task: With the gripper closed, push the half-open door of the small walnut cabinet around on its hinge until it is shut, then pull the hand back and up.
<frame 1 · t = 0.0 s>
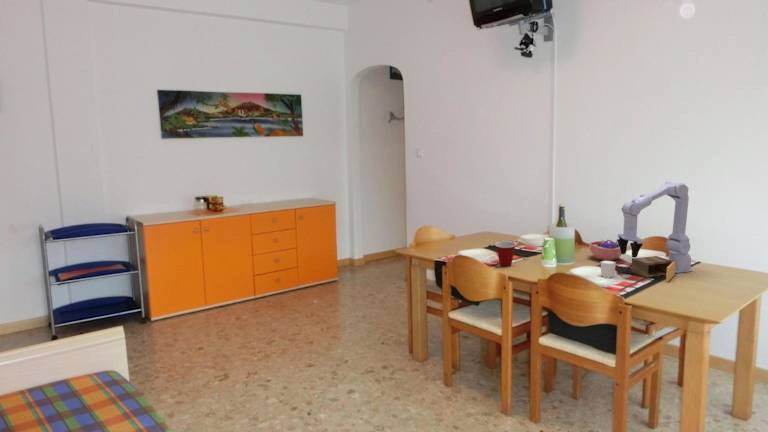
hand: (628, 255, 257), 10 cm above the table, tool pointing down, fingers open, 7 cm apart
cell model: (605, 259, 291), on the table
cabinet: (650, 273, 261), on the table
white short cylinder: (607, 276, 259), on the table
cabinet door: (670, 271, 251), point 4 cm above the table, hinge at 36.0°
plastic cup: (505, 266, 284), on the table
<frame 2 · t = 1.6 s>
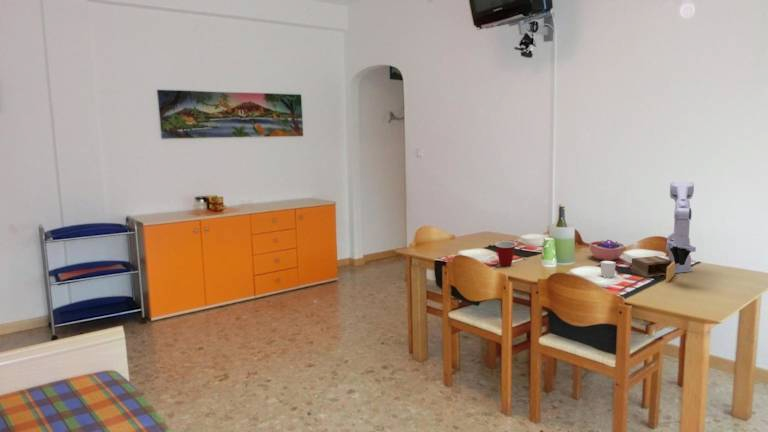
hand: (679, 264, 241), 9 cm above the table, tool pointing down, fingers closed
nothing on the table moved.
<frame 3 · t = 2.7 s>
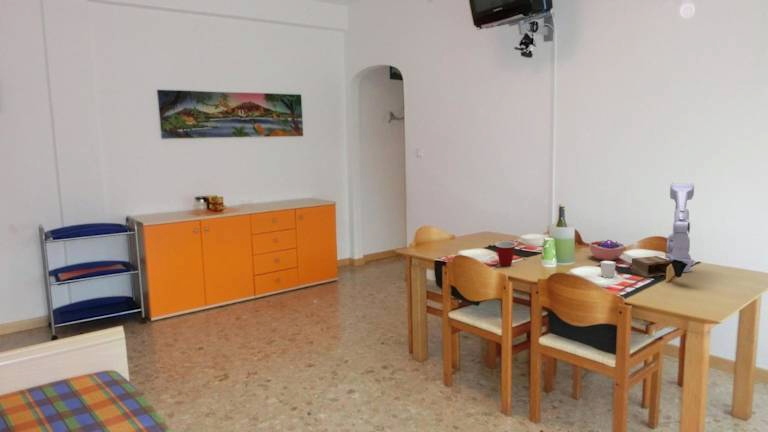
hand: (678, 276, 243), 3 cm above the table, tool pointing down, fingers closed
nothing on the table moved.
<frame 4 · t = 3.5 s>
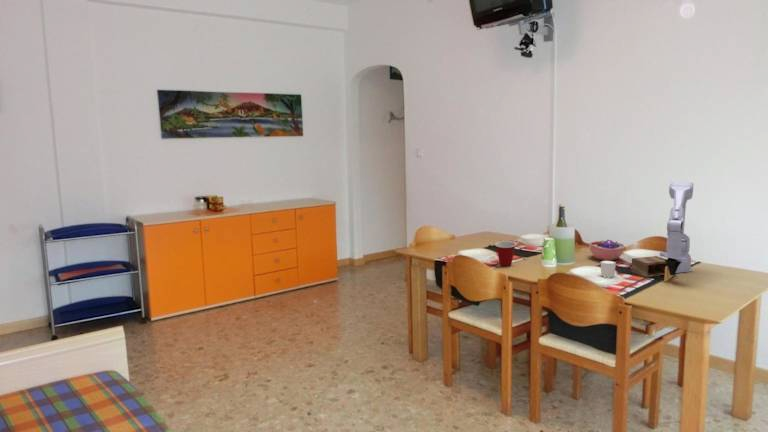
hand: (672, 274, 246), 3 cm above the table, tool pointing down, fingers closed
cabinet door: (670, 271, 252), point 4 cm above the table, hinge at 33.2°, touching gripper
everything else where it was.
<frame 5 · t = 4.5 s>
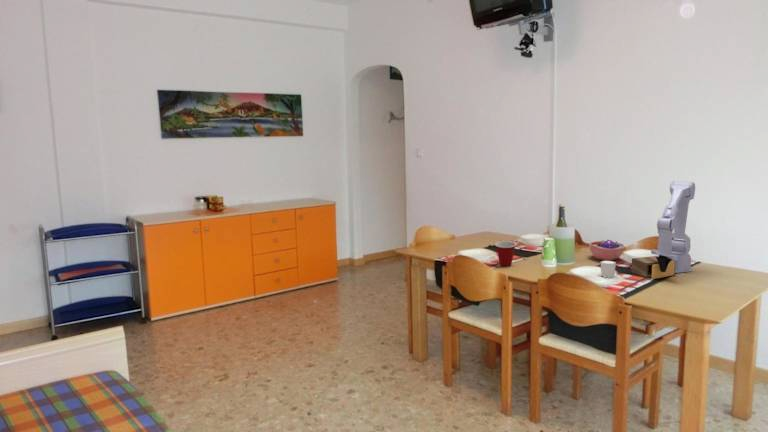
hand: (663, 271, 251), 4 cm above the table, tool pointing down, fingers closed
cabinet door: (663, 269, 254), point 4 cm above the table, hinge at 9.2°, touching gripper
everything else where it was.
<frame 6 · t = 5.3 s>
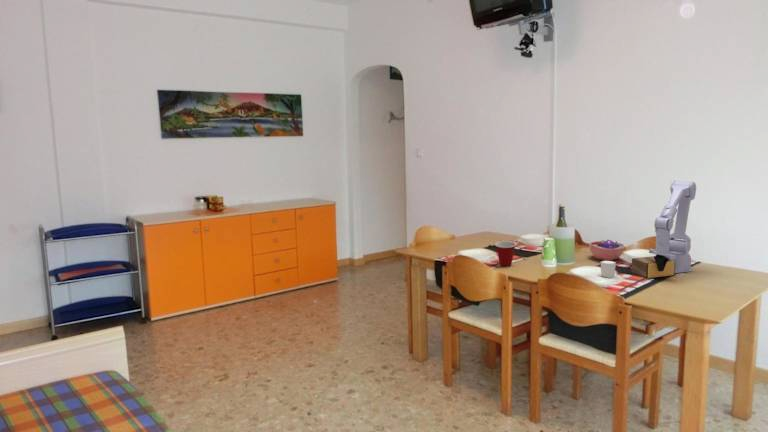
hand: (660, 271, 253), 3 cm above the table, tool pointing down, fingers closed
cabinet door: (661, 269, 255), point 4 cm above the table, hinge at 0.0°, touching gripper
everything else where it was.
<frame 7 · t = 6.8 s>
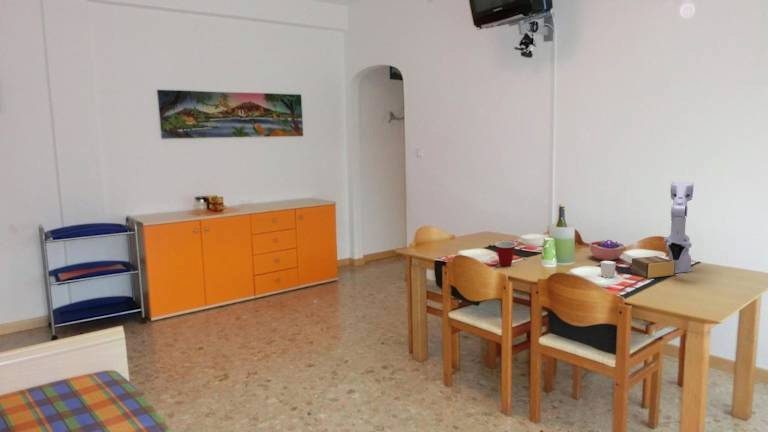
hand: (676, 259, 249), 9 cm above the table, tool pointing down, fingers closed
cabinet door: (661, 269, 255), point 4 cm above the table, hinge at 0.0°
everything else where it was.
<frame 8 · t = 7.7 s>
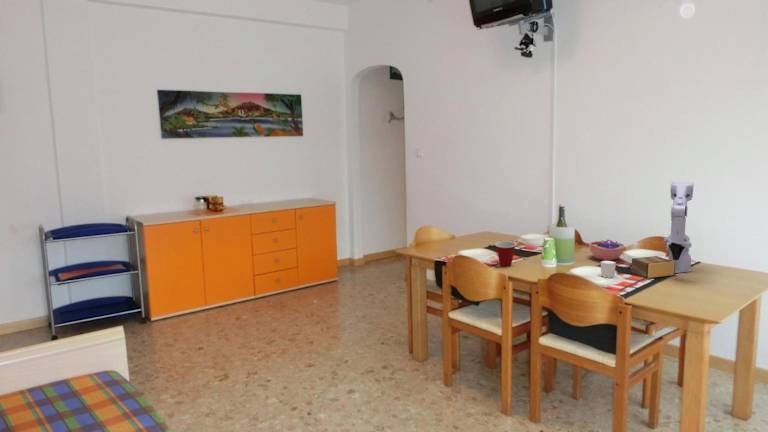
hand: (676, 259, 249), 9 cm above the table, tool pointing down, fingers closed
nothing on the table moved.
at the end: cabinet door at +0° (first picture: +36°); white short cylinder moved 0.2 cm from its start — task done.
